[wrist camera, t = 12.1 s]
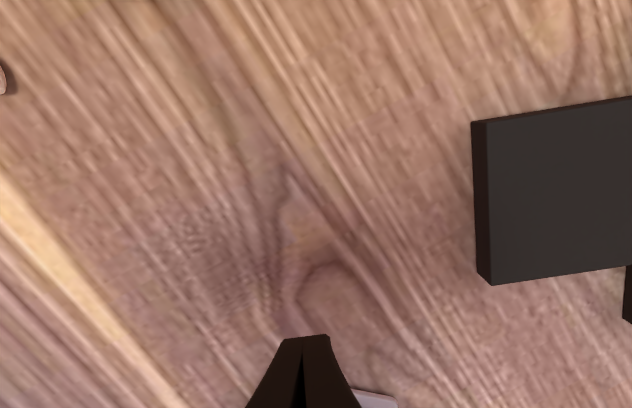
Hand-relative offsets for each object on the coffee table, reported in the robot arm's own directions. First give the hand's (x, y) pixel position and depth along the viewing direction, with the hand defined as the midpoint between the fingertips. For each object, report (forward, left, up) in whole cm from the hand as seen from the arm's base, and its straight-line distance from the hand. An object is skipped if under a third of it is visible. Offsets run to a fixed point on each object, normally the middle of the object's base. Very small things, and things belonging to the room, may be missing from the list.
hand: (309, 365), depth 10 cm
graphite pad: (+7, -12, -8) cm, 16 cm away
